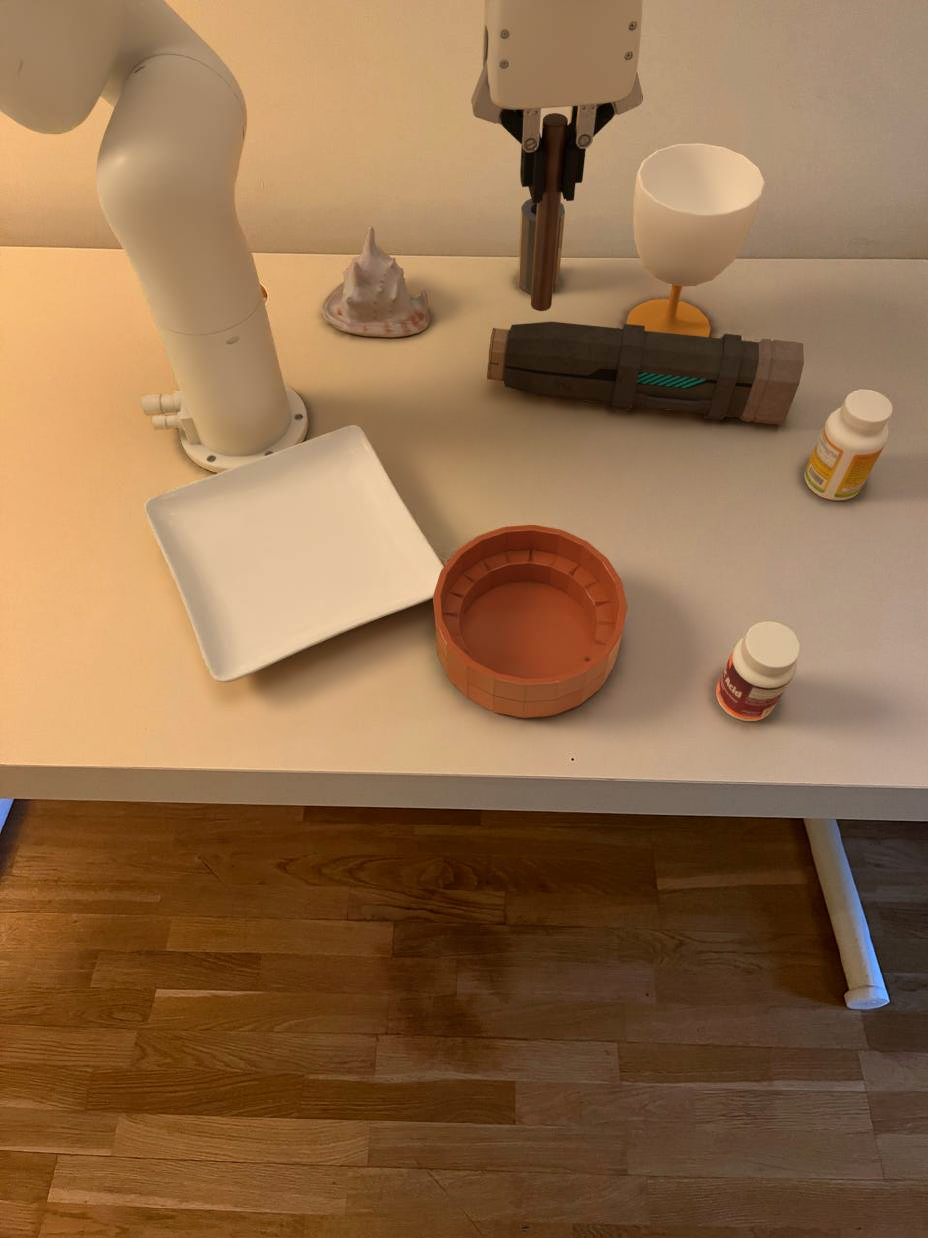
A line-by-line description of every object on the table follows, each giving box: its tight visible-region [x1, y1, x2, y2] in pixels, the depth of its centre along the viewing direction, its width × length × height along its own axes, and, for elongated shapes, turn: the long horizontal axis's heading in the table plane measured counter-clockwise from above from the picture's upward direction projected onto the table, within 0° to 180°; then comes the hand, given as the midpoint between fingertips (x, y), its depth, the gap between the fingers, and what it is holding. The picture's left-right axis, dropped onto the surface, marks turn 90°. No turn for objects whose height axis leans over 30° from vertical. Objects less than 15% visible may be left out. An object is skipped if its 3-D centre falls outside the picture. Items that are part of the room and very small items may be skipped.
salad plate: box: [143, 424, 445, 684], centre depth 79 cm, size 21×21×3 cm
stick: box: [530, 112, 569, 312], centre depth 71 cm, size 2×2×16 cm
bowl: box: [432, 524, 628, 719], centre depth 74 cm, size 15×15×6 cm
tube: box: [486, 321, 805, 426], centre depth 89 cm, size 11×7×30 cm
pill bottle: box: [715, 620, 801, 722], centre depth 70 cm, size 5×5×8 cm
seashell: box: [321, 225, 431, 338], centre depth 96 cm, size 10×12×9 cm
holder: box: [517, 198, 566, 295], centre depth 98 cm, size 4×4×9 cm
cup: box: [625, 142, 766, 337], centre depth 91 cm, size 12×12×17 cm
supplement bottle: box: [804, 388, 894, 501], centre depth 82 cm, size 5×5×10 cm
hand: (550, 190), depth 69 cm, fingers closed on stick, 1 cm apart
